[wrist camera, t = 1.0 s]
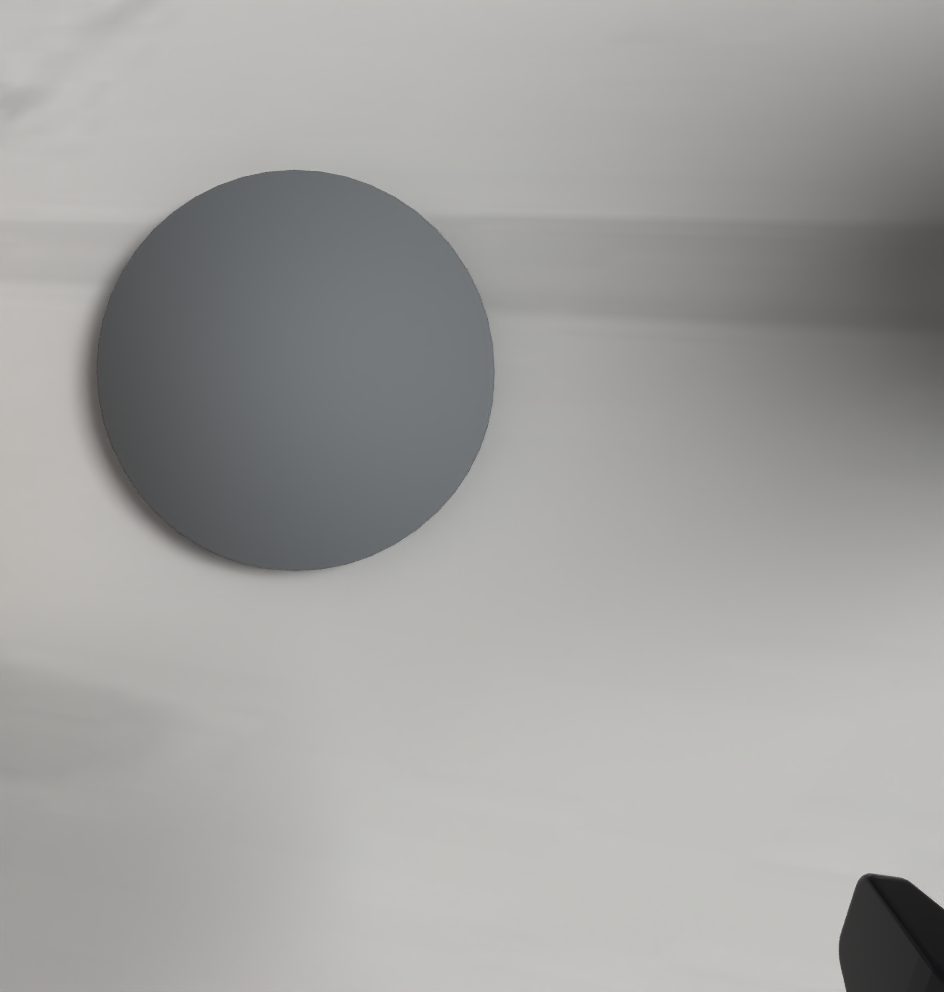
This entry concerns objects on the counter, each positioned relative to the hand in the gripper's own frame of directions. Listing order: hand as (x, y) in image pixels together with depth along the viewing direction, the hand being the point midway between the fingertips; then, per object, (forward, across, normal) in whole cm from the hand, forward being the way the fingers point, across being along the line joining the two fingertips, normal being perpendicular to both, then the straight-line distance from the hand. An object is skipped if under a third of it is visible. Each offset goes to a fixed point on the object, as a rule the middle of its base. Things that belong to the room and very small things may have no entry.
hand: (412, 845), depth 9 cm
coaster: (+15, +5, -1) cm, 16 cm away
